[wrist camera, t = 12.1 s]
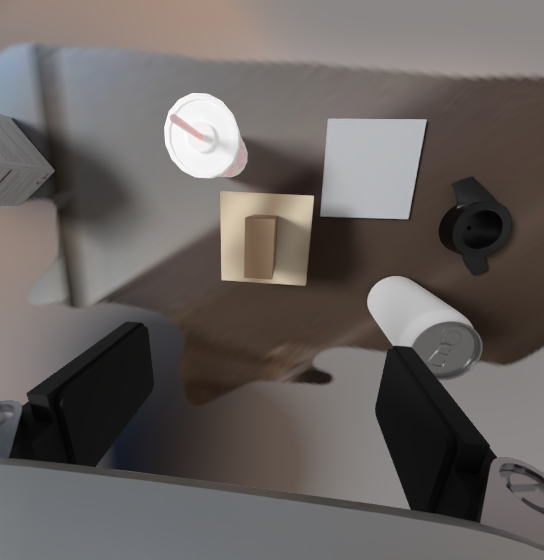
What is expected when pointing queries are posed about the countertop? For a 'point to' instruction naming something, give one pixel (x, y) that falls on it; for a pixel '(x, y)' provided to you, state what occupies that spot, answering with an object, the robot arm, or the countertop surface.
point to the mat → (371, 167)
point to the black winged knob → (475, 224)
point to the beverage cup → (204, 137)
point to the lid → (265, 237)
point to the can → (425, 326)
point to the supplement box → (19, 165)
